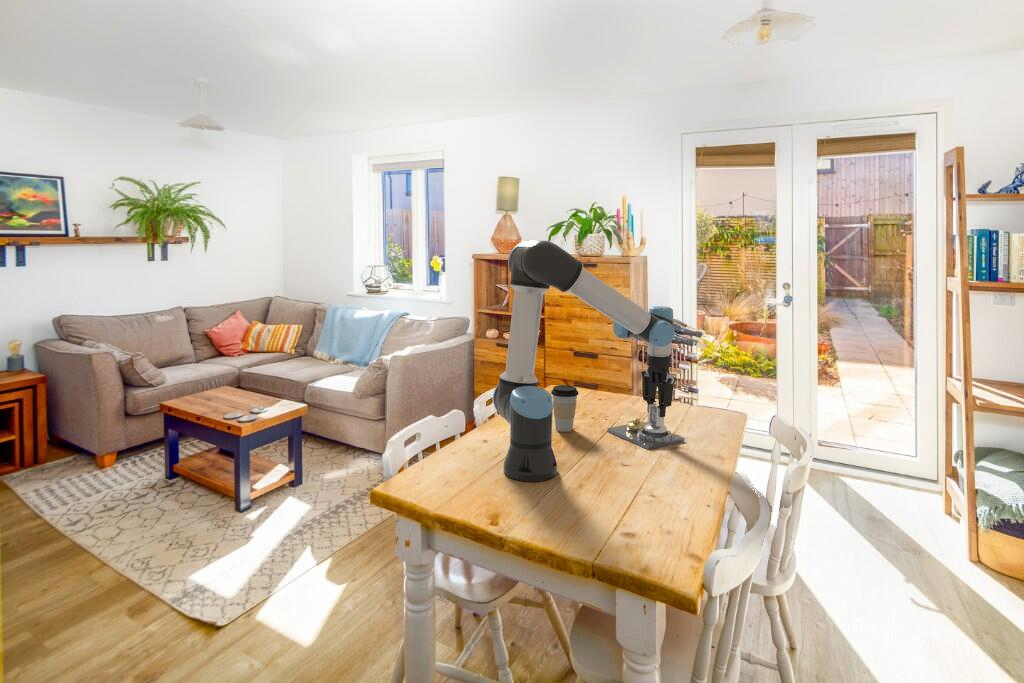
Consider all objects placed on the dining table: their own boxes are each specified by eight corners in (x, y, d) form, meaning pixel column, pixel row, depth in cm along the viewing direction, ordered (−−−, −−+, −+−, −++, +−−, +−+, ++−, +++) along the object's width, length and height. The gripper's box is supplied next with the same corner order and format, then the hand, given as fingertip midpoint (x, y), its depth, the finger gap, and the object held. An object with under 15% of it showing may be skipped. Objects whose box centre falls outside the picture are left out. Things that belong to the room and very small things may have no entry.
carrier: (648, 449, 179) (649, 435, 178) (607, 431, 196) (607, 418, 195) (684, 441, 187) (685, 427, 186) (642, 424, 204) (642, 411, 203)
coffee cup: (577, 425, 202) (578, 384, 199) (577, 434, 192) (578, 391, 190) (550, 424, 203) (551, 384, 200) (549, 433, 193) (550, 390, 191)
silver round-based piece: (654, 436, 182) (656, 412, 181) (640, 430, 188) (641, 406, 187) (670, 432, 186) (672, 409, 184) (655, 426, 192) (656, 403, 190)
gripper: (686, 357, 178) (682, 429, 182) (650, 349, 191) (647, 416, 195) (669, 360, 174) (665, 433, 178) (633, 351, 188) (630, 419, 192)
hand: (655, 424), depth 187 cm, fingers closed on silver round-based piece, 3 cm apart
